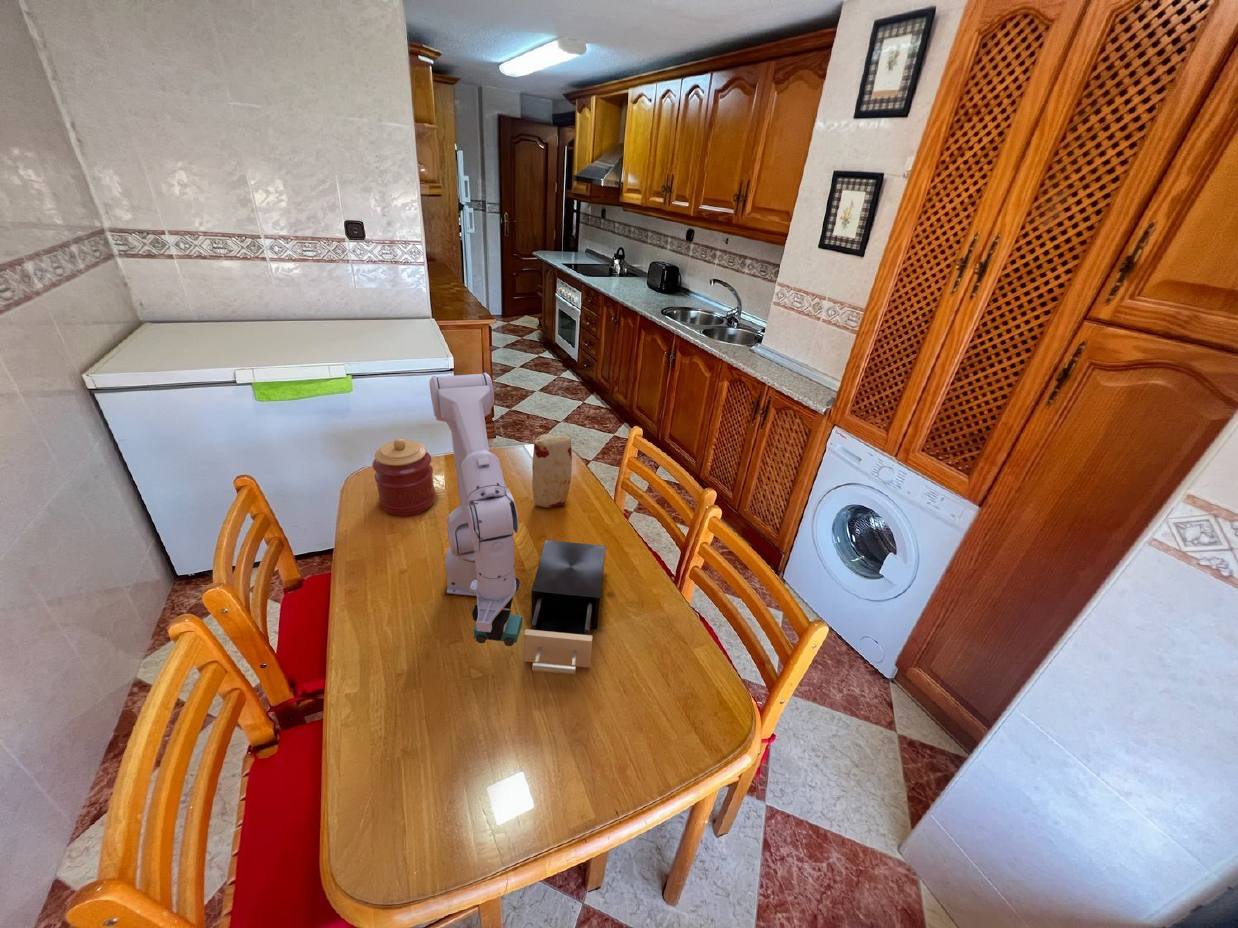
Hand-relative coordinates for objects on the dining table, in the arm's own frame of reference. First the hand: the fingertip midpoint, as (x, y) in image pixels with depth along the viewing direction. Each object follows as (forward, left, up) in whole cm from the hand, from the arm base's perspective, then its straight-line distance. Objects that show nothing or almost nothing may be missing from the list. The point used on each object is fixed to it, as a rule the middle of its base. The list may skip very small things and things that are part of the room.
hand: (498, 626), depth 82 cm
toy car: (0, 0, -1) cm, 1 cm away
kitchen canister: (-34, +43, -9) cm, 56 cm away
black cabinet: (+10, +16, -9) cm, 21 cm away
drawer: (+10, +4, -8) cm, 13 cm away
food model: (+1, +48, -9) cm, 49 cm away
